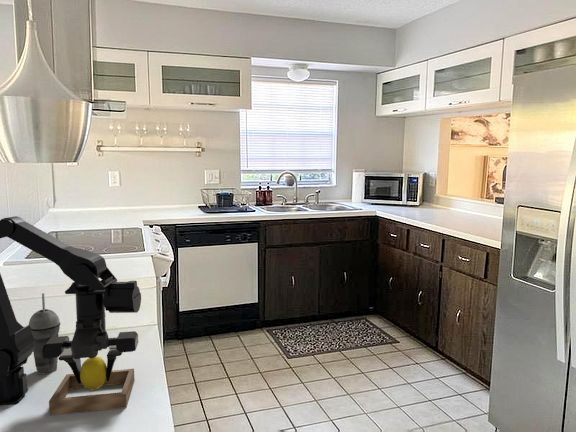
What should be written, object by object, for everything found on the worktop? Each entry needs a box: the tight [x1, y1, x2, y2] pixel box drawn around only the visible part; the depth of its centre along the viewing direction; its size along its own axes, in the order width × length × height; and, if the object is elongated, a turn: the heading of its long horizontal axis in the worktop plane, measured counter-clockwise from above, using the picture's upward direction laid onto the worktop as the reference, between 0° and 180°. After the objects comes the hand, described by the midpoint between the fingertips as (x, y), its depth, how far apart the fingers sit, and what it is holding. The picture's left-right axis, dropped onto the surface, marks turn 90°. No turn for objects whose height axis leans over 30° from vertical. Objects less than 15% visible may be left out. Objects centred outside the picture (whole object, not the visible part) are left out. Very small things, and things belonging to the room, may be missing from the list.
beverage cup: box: [28, 293, 61, 375], centre depth 116 cm, size 7×7×20 cm
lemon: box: [80, 356, 107, 392], centre depth 102 cm, size 6×6×8 cm
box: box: [48, 368, 136, 416], centre depth 102 cm, size 15×13×3 cm
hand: (94, 381), depth 102 cm, fingers closed on lemon, 5 cm apart
